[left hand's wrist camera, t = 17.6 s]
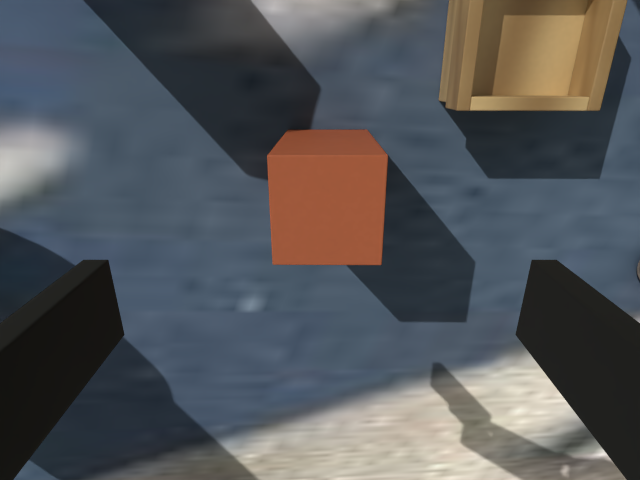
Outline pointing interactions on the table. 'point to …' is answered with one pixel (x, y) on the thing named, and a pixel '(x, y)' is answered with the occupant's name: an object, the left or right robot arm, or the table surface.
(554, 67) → the holder
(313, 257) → the reddish brown block
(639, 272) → the light bulb
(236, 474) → the table surface
